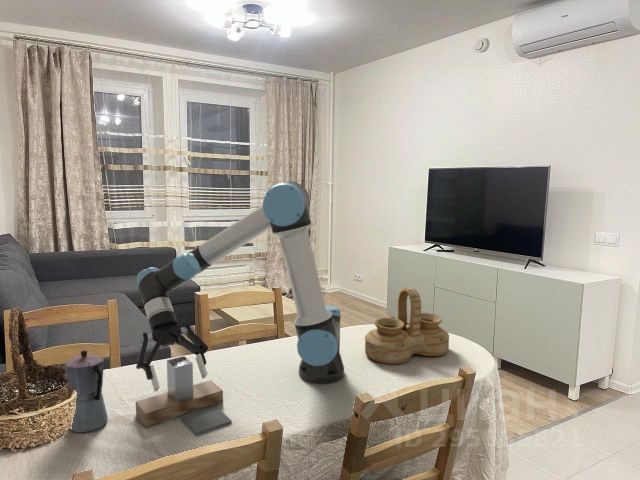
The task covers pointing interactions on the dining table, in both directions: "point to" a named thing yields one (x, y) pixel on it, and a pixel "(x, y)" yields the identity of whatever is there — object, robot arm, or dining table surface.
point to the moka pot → (87, 391)
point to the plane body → (177, 404)
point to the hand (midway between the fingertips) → (181, 382)
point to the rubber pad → (205, 420)
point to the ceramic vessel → (406, 333)
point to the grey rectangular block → (180, 379)
